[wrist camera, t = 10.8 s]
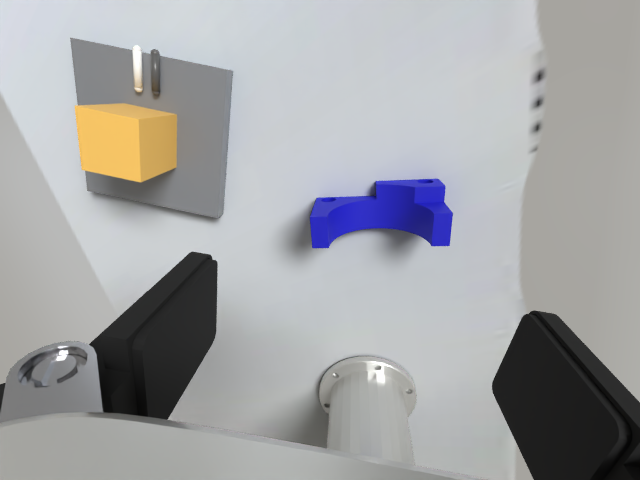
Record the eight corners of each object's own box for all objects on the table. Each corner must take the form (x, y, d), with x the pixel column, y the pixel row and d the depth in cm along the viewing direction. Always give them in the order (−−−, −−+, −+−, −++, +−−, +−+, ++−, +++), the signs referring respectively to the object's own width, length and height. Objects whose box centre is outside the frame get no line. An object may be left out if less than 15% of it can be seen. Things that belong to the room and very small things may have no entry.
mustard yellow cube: (176, 167, 33) (140, 182, 27) (127, 157, 33) (81, 169, 27) (176, 114, 31) (138, 119, 25) (124, 103, 31) (74, 105, 25)
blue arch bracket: (437, 178, 33) (454, 195, 27) (434, 221, 34) (449, 245, 29) (316, 183, 34) (308, 200, 28) (318, 224, 36) (312, 248, 30)
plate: (223, 213, 36) (199, 235, 31) (97, 187, 36) (51, 204, 31) (233, 65, 30) (206, 59, 25) (82, 34, 30) (22, 21, 25)
